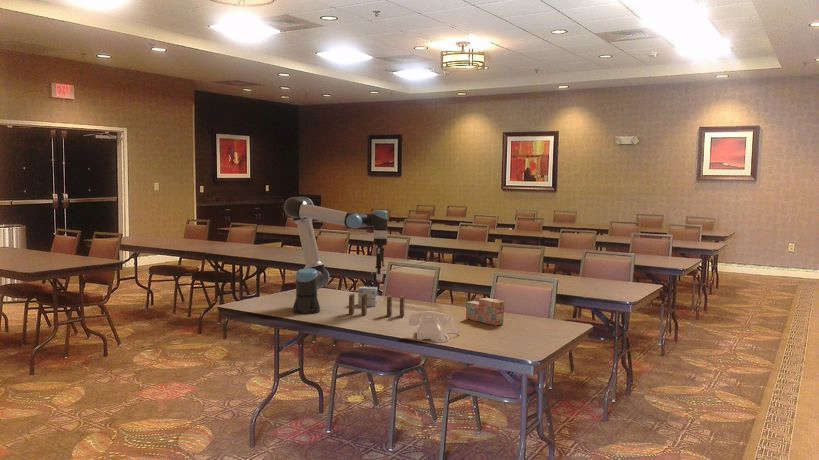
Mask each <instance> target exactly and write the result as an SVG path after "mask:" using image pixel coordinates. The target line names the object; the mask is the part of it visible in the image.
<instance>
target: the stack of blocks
mask: <svg viewBox="0 0 819 460" xmlns="http://www.w3.org/2000/svg"><path fill="white" fill-rule="evenodd" d="M504 315H505V301H504V300H500V299H493V298H491V297H490V298H489V297H484V298H479V299H478V301H476V300H469V301H466V302H465V320H466V319H467V320H470V321H474V322H479V323H484V324H488V325H491V326H502V325H504V319H505V318H504ZM501 324H502V325H501Z"/></svg>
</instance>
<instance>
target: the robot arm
mask: <svg viewBox="0 0 819 460" xmlns="http://www.w3.org/2000/svg"><path fill="white" fill-rule="evenodd" d="M283 210H284V212H285V214H286V215H287V216H288V217H290V218H292V219H293V223H295V224H296V226H297V231H298V234H299V239H300V244H301V249H302V253H303V257H304V262H305V266H304V267H303V268H301V269H298V270H297V271H296V274H295V275H296V276H295V300H294V303H293V305H292V312H293V313H295V314H304V315H305V314H306V315H307V314H308V315H309V314H311V315H312V314H317V313H319V312H321V306H320V302H319V299H318V290H320V289H322V288H324V287H326V286H327V285H328V284H329V282H330V273H329V271H328V270H327V268H325V263H323V262H322V261H321V258H320V252H319V247H318V243H317V240H316V234H315V230H314V227H313V220H315V221H320V222H325V223H329V224H336V225H340V226H344V227H348V228H349V229H359V228H365V227H366V228H370V227H371V228H373V245H374V246H377V248H376V249H375V250H376V255H375V256H376V259H375V267H374V268H375V269H376V275H375V277H376V278H375V279H376V281H377V280H381V272H382V279H383V278H384V267H385V261H384V259H385V254H384V253H385V252H384V251H385V248H384V246H387V245H388V239H387V238H388V234H389V232H388V218H389V217H388V211H387V210H380V209H376V210H374V212H373V213H366V212H365V213H364V212H356V213H353V212H349V211H343V210H339V209H332V208H328V207H325V206H324V207H323V206H318V205H315V204H314V202H313V201H312V199H310V198H309V197H306V196H291V197H289V198H288V199H286V200H285V202H284V203H283ZM381 262H382V268H381Z"/></svg>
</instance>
